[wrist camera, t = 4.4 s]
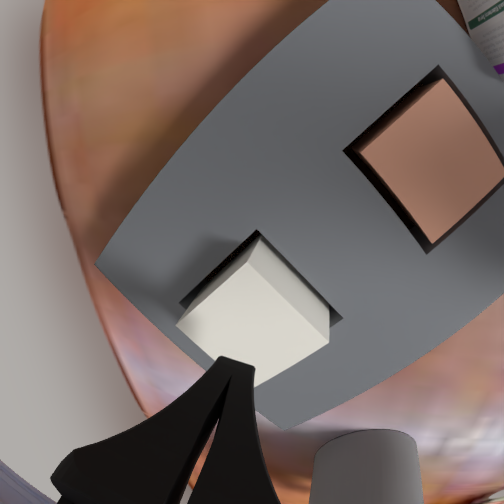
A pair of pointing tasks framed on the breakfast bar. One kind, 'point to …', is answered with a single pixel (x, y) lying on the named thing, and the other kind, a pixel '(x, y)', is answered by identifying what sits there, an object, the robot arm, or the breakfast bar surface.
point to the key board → (323, 201)
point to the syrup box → (486, 29)
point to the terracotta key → (431, 158)
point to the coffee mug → (367, 470)
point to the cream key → (258, 313)
